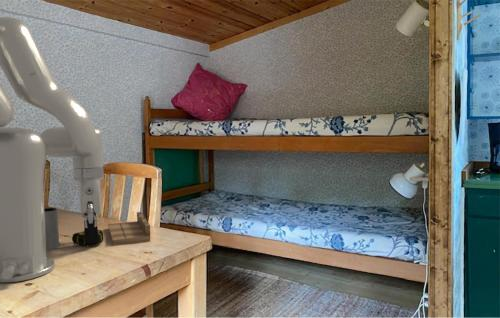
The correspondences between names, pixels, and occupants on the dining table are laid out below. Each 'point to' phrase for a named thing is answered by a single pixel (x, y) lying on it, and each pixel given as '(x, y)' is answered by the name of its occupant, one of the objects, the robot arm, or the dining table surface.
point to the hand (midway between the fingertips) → (91, 237)
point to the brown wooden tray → (130, 231)
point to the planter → (51, 228)
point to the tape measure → (80, 239)
